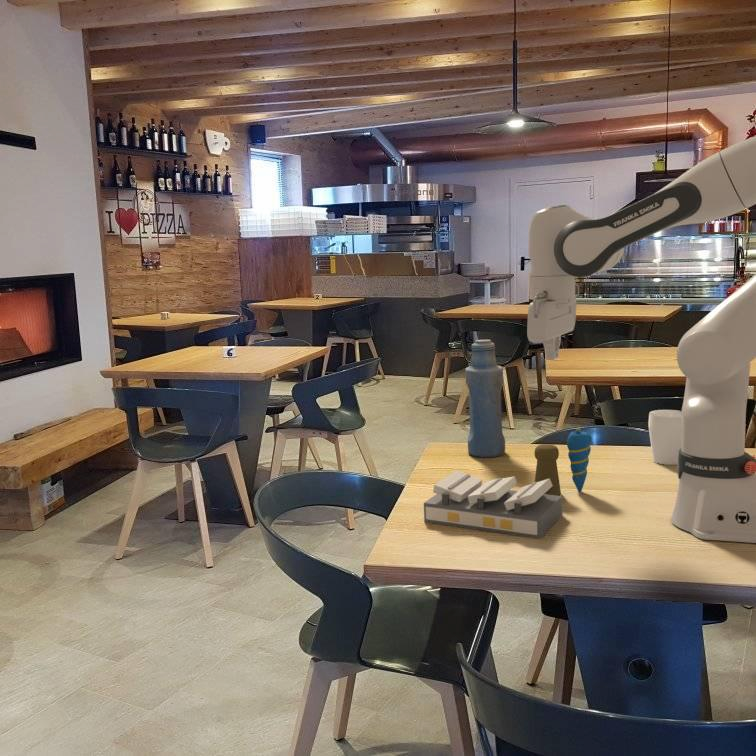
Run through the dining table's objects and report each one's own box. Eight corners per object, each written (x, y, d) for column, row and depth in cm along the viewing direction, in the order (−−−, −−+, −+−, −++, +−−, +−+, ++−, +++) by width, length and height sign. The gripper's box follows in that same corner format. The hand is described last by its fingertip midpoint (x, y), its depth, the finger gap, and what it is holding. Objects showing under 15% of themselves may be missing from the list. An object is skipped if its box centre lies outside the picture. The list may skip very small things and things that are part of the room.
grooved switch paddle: (481, 486, 167) (483, 478, 166) (459, 502, 157) (461, 493, 157) (455, 476, 170) (457, 468, 169) (432, 492, 160) (434, 483, 159)
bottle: (507, 457, 205) (505, 341, 200) (469, 459, 205) (466, 343, 200) (502, 448, 214) (500, 337, 209) (465, 449, 214) (462, 338, 210)
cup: (690, 458, 196) (691, 411, 194) (682, 468, 189) (683, 418, 187) (653, 455, 201) (653, 408, 199) (643, 464, 194) (644, 415, 192)
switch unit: (562, 515, 161) (562, 485, 160) (539, 539, 148) (539, 507, 147) (453, 501, 172) (452, 473, 171) (423, 522, 160) (422, 492, 159)
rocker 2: (553, 485, 159) (549, 476, 159) (534, 502, 149) (530, 493, 149) (526, 493, 162) (523, 485, 162) (506, 511, 152) (502, 501, 153)
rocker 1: (517, 483, 163) (514, 474, 163) (496, 500, 153) (494, 490, 153) (490, 487, 166) (488, 479, 166) (469, 504, 156) (466, 494, 156)
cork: (541, 488, 178) (540, 440, 177) (566, 492, 175) (565, 443, 173) (527, 495, 174) (527, 446, 172) (553, 500, 170) (552, 450, 168)
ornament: (595, 491, 175) (595, 424, 172) (584, 497, 171) (583, 428, 169) (574, 486, 178) (574, 421, 176) (562, 492, 175) (562, 426, 172)
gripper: (551, 293, 148) (551, 367, 150) (581, 286, 165) (581, 352, 167) (518, 294, 151) (519, 366, 153) (551, 286, 168) (552, 351, 170)
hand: (552, 359), depth 160 cm, fingers closed
